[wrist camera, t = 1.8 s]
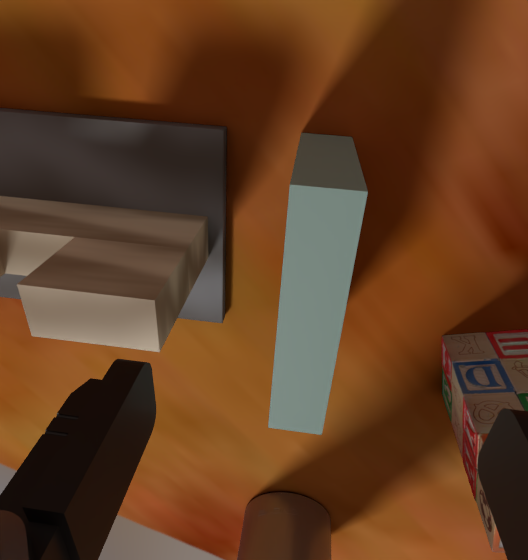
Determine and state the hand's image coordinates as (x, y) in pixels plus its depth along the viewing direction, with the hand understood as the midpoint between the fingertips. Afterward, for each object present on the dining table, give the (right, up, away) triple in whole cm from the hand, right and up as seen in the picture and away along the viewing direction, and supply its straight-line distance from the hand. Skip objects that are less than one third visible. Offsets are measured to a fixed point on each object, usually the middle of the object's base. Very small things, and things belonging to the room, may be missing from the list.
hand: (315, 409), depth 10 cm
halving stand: (-14, +7, +20) cm, 25 cm away
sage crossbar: (+2, +6, +18) cm, 19 cm away
